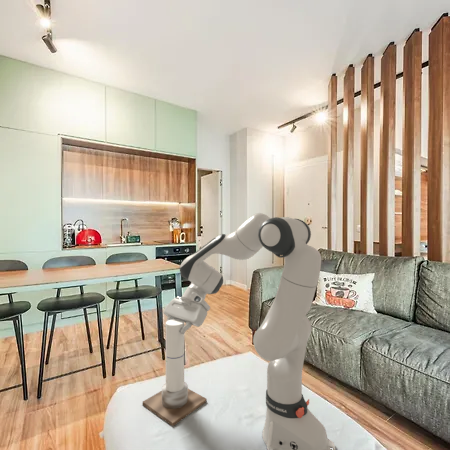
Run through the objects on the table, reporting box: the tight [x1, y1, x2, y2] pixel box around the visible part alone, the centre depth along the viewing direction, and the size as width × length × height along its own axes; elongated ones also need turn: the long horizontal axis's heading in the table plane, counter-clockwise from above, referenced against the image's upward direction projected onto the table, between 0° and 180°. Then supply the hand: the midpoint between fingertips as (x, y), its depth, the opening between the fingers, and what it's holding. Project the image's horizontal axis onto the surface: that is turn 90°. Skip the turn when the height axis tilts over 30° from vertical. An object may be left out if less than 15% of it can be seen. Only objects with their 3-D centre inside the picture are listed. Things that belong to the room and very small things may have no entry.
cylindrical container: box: [165, 319, 185, 392], centre depth 105 cm, size 7×7×25 cm
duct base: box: [142, 381, 208, 427], centre depth 105 cm, size 18×17×6 cm
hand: (173, 330), depth 105 cm, fingers closed on cylindrical container, 7 cm apart
